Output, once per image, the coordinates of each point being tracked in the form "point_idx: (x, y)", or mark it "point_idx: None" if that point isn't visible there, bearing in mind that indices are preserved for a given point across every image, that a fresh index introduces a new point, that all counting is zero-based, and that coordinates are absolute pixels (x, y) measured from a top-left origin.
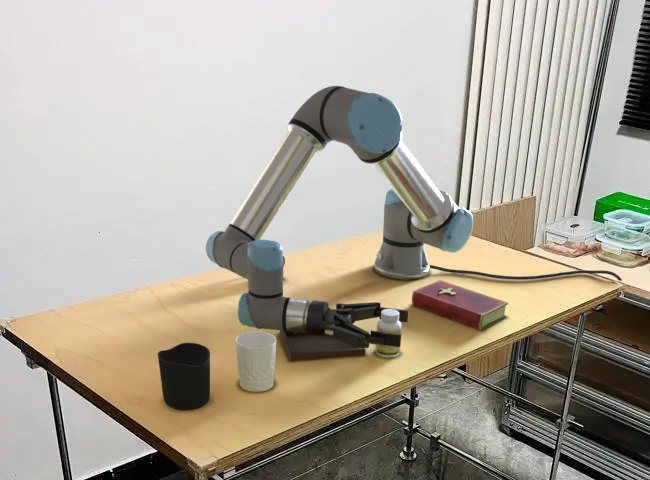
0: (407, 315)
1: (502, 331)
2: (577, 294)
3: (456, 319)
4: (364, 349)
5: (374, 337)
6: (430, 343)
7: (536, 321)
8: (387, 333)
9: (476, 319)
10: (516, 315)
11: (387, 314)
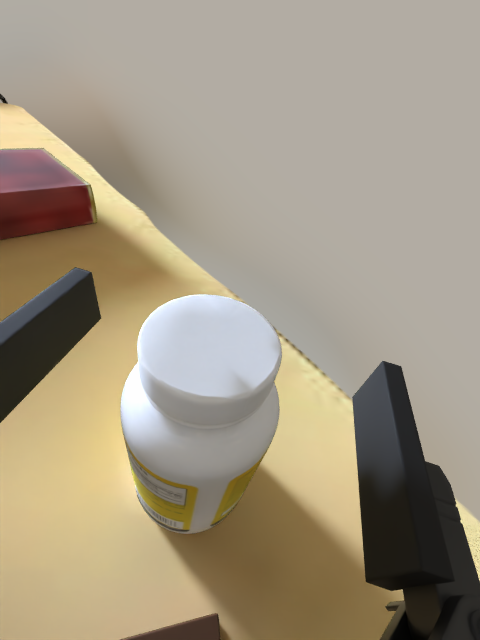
0: (93, 291)
1: (115, 205)
2: (17, 123)
3: (18, 231)
4: (217, 622)
5: (468, 546)
6: (137, 316)
7: (92, 170)
8: (410, 431)
9: (79, 202)
10: None
11: (258, 363)
